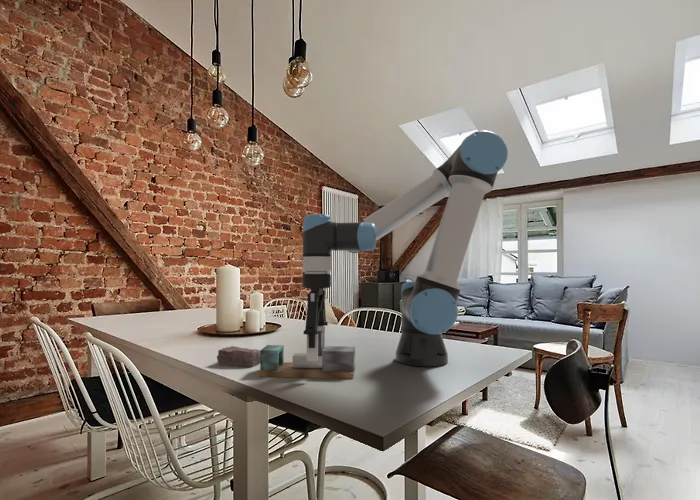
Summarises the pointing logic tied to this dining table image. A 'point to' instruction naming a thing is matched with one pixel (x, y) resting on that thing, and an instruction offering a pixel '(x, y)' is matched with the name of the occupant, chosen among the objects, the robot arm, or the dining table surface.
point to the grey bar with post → (301, 358)
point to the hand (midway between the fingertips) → (316, 355)
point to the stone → (238, 356)
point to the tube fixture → (333, 366)
